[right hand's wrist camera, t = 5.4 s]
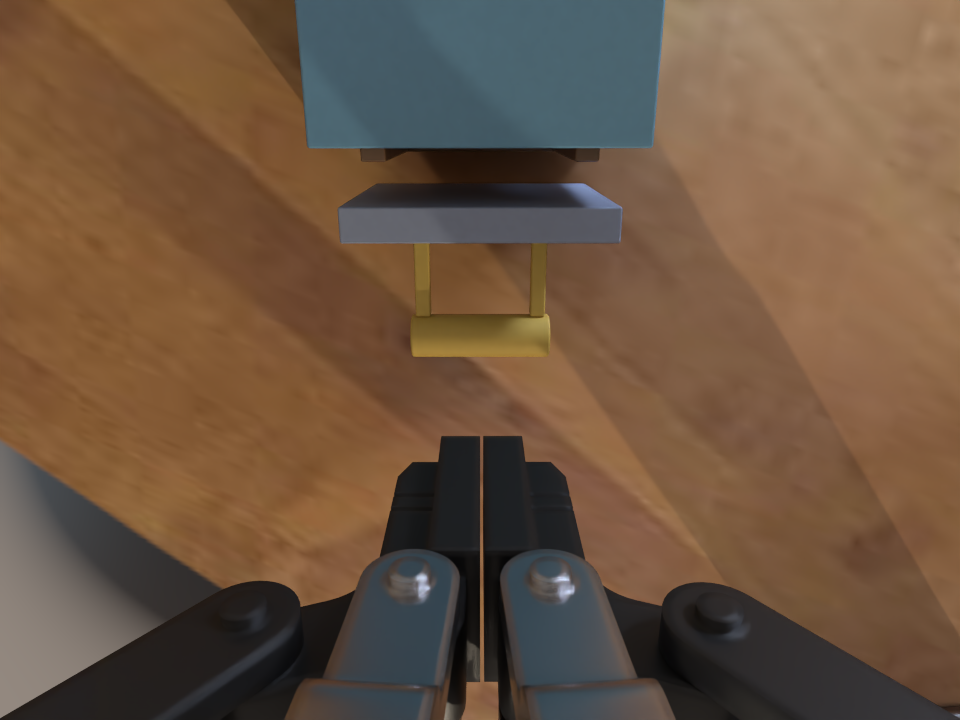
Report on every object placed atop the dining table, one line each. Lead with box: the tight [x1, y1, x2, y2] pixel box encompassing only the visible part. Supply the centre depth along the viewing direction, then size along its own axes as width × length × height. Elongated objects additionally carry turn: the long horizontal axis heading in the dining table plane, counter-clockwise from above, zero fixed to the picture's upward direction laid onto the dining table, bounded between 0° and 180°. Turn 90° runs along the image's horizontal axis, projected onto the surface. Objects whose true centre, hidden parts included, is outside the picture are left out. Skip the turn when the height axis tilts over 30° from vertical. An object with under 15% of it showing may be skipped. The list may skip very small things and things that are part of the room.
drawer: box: [338, 148, 623, 357], centre depth 24 cm, size 26×10×9 cm, turn 0°
